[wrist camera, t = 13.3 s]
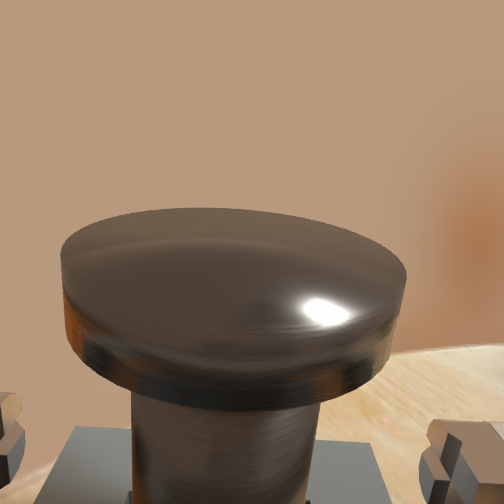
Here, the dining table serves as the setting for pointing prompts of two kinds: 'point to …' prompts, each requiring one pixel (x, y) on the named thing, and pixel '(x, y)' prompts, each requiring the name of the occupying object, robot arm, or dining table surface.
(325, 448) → the bracket
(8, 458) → the robot arm
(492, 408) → the dining table surface
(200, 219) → the pin
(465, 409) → the dining table surface
